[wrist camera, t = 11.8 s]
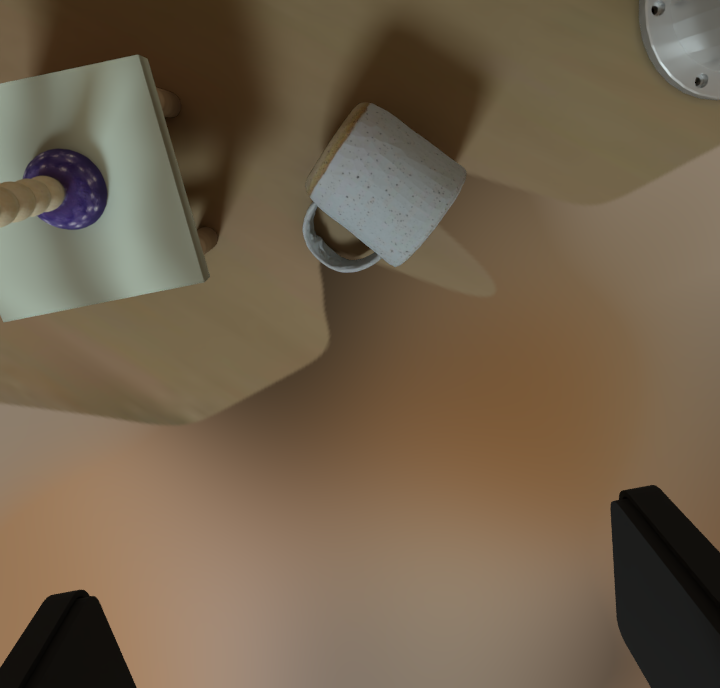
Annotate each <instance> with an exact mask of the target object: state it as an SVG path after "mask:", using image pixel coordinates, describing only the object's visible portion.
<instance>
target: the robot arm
mask: <svg viewBox="0 0 720 688" xmlns="http://www.w3.org/2000/svg"><path fill="white" fill-rule="evenodd" d="M652 8H653V9H654V14H652V11H651V9H652ZM639 23H640V29H641V35H642V40H643V43H644V46H645V48H646V51H647V54H648V57H649V58H650V60H651V61H652V63H653V65H654V66H655V68H656V69H657V71H658V72H659V73H660V74H661V75H662V76H663V77H664V78H665V80H666V81H667V82H668V83H669V84H671V85H672V86H674V87H675V88H677V89H679V90H680V91H682V92H683V93H686V94H689V95H691V96H694V97H697V98H701V99H710V100H720V0H639ZM695 79H696V80H697V83H696V85H695ZM611 525H612V542H613V560H614V577H615V595H616V613H617V621H618V626H619V629H620V632H621V635H622V637H623V639H624V641H625V643H626V645H627V647H628V648H629V650H630V652H631V654H632V655H633V657H634V659H635V661H636V662H637V664H638V666H639V667H640V669H641V671H642V673H643V675H644V676H645V678H646V680H647V681H648V683H649V685H650V687H651V688H720V552H719V551H718V550H717V549H716V548H715V547H714V546H713V545H712V544H711V543H710V542H709V541H708V539H707V538H706V537H705V536H704V535H703V534H702V533H701V532H700V531H699V530H698V529H697V528H696V527H695V526H694V525H693V524H692V522H691V521H690V520H689V519H688V518H687V517H686V516H685V515H684V514H683V513H682V512H681V511H680V510H679V509H678V507H677V506H676V505H675V504H674V503H673V502H672V501H671V500H670V499H669V498H668V497H667V496H666V495H665V494H664V493H663V492H662V490H661V489H660V488H658V487H657V486H655V485H650V486H645V487H639V488H634V489H628V490H623V491H621V492H620V495H619V500H616V501H613V502H611ZM0 688H136V685H135V683H134V681H133V678H132V676H131V674H130V671H129V669H128V667H127V665H126V662H125V660H124V658H123V656H122V653H121V651H120V648H119V646H118V644H117V642H116V639H115V637H114V635H113V633H112V630H111V628H110V626H109V623H108V621H107V619H106V616H105V614H104V612H103V610H102V607H101V605H100V603H99V601H98V599H97V598H96V597H95V596H89V594H88V593H87V592H86V591H85V590H77V591H71V592H66V593H60V594H54V595H51V596H49V597H47V598H46V600H45V601H44V602H43V603H42V605H41V606H40V608H39V609H38V611H37V612H36V614H35V615H34V617H33V618H32V620H31V622H30V623H29V625H28V626H27V628H26V629H25V631H24V632H23V634H22V635H21V637H20V638H19V640H18V641H17V643H16V644H15V646H14V648H13V649H12V651H11V652H10V654H9V655H8V657H7V658H6V660H5V661H4V663H3V664H2V666H1V667H0Z"/></svg>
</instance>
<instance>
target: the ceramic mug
mask: <svg viewBox="0 0 720 688" xmlns="http://www.w3.org/2000/svg"><path fill="white" fill-rule="evenodd" d="M465 179H466V170H465V169H464V168H463V167H462V166H461V165H459V164H458V163H457V162H455V161H454V160H452V159H451V158H450V157H448V156H447V155H446V154H444V153H443V152H442V151H441V150H439V149H438V148H437V147H435V146H434V145H432V144H431V143H430V142H429V141H427V140H426V139H424V138H423V137H422V136H420V135H419V134H417V133H416V132H414V131H413V130H412V129H410V128H409V127H408V126H407V125H405V124H404V123H403V122H402V121H400V120H399V119H398V118H396V117H395V116H394V115H392V114H391V113H389V112H388V111H386V110H384V109H382V108H380V107H378V106H377V105H375V104H373V103H369V102H363V103H359V104H358V105H357V106H356V107H355V108H354V109H353V110H352V111H351V113H350V114H349V115H348V117H347V118H346V119H345V121H344V122H343V123H342V125H341V126H340V128H339V129H338V131H337V132H336V133H335V135H334V136H333V138H332V139H331V141H330V142H329V143H328V145H327V147H326V148H325V150H324V151H323V153H322V155H321V156H320V158H319V160H318V161H317V163H316V164H315V166H314V168H313V169H312V171H311V173H310V174H309V176H308V178H307V180H306V183H305V187H306V192H307V194H308V195H309V197H310V198H311V199H312V200H313V203H312V204H311V205H310V207H309V209H308V210H307V213H306V216H305V218H304V223H303V234H304V239H305V242H306V244H307V247H308V248H309V250H310V251H311V252H312V253H313V255H314V256H315V257H316V258H317V259H318V260H319V261H320V262H322V263H323V264H324V265H326V266H327V267H329V268H331V269H333V270H335V271H339V272H356V271H361V270H363V269H365V268H368V267H370V266H372V265H373V264H375V263H376V262H378V261H379V260H380V259H381V258H383V259H384V260H385V261H386V262H388V263H389V264H391V265H393V266H394V267H396V266H399V265H401V264H402V263H404V262H405V261H406V260H407V259H408V258H409V257H410V256H411V255H412V254H413V253H414V252H415V251H416V250H417V249H418V248H419V247H420V246H421V245H422V243H423V242H424V241H425V240H426V239H427V238H428V236H429V235H430V234H431V232H432V231H433V230H434V229H435V227H436V226H437V225H438V223H439V222H440V221H441V219H442V218H443V216H444V215H445V213H446V212H447V211H448V209H449V208H450V206H451V205H452V204H453V202H454V200H455V199H456V198H457V196H458V194H459V192H460V190H461V188H462V185H463V184H464V182H465ZM317 207H319V208H320V209H321V210H323V211H324V212H325V213H326V214H328V215H329V216H330V217H331V218H333V219H334V220H335V221H337V222H338V223H340V224H341V225H342V226H344V227H345V228H346V229H348V230H349V231H350V232H351V233H352V234H354V235H355V236H356V237H357V238H358V239H359V240H361V241H362V242H363V243H364V244H365V245H367V246H368V247H369V248H371V249H372V250H373V251H374V253H373V254H371V255H369V256H367V257H365V258H363V259H359V260H348V259H345V258H343V257H340V256H339V255H338V254H337V253H335V252H334V251H333V250H332V249H331V248H330V247H329V246H327V245H326V244H325V243H324V241H323V239H322V238H321V237H319V236H317V235H316V233H315V230H314V222H313V219H314V215H315V211H316V209H317Z"/></svg>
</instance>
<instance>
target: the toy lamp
mask: <svg viewBox="0 0 720 688" xmlns="http://www.w3.org/2000/svg"><path fill="white" fill-rule="evenodd" d="M106 203H107V188H106V183H105V181H104V178H103V176H102V174H101V172H100V170H99V169H98V168H97V166H96V165H95V164H94V163H93V162H92V161H91V160H90V159H89V158H87V157H86V156H84V155H82V154H80V153H78V152H75V151H72V150H69V149H59V148H58V149H51V150H47V151H45V152H42V153H40V154H39V155H37V156H36V157H35V158H34V159H33V160H32V161H31V162H30V163H29V164H28V166H27V167H26V169H25V172H24V175H23V179H21V180H17V181H15V182H3V183H0V228H1V227H4V226H7V225H8V224H10V223H15V222H20V221H23V220H25V219H27V218H28V217H34V216H38V217H39V218H40V219H41V220H43V221H45V222H46V223H48V224H50V225H52V226H54V227H57V228H61V229H67V230H77V229H82V228H86V227H88V226H90V225H92V224H94V223H95V222H96V221H97V220H98V219H99V218H100V217H101V215H102V214H103V212H104V210H105V207H106Z"/></svg>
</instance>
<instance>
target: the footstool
mask: <svg viewBox="0 0 720 688" xmlns="http://www.w3.org/2000/svg"><path fill="white" fill-rule="evenodd" d="M180 110H181V102H180V100H179V98H178V97H177V96H176V95H175V94H174V93H172V92H169V91H166V90H163V89H160V88H157V87H156V86H155V83H154V79H153V76H152V72H151V69H150V65H149V62H148V59H147V58H145V57H143V56H140V55H133V56H129V57H124V58H119V59H115V60H110V61H105V62H100V63H96V64H91V65H86V66H82V67H77V68H72V69H68V70H63V71H58V72H53V73H49V74H44V75H39V76H35V77H30V78H25V79H21V80H16V81H11V82H7V83H2V84H0V183H3V182H15V181H17V180H21V179H23V175H24V172H25V169H26V167H27V166H28V164H29V163H30V162H31V161H32V160H33V159H34V158H35V157H36V156H37V155H39V154H40V153H42V152H45V151H47V150H51V149H58V148H59V149H69V150H72V151H75V152H78V153H80V154H82V155H84V156H86V157H87V158H89V159H90V160H91V161H92V162H93V163H94V164H95V165H96V166H97V168H98V169H99V170H100V172H101V174H102V176H103V178H104V181H105V183H106V188H107V203H106V207H105V210H104V212H103V214H102V215H101V217H100V218H99V219H98V220H97V221H96V222H95V223H94V224H92V225H90V226H88V227H86V228H82V229H77V230H67V229H61V228H57V227H54V226H52V225H50V224H48V223H46V222H45V221H43V220H41V219H40V218H39V217H38V216H34V217H28V218H27V219H25V220H23V221H20V222H15V223H10V224H8V225H7V226H4V227H1V228H0V315H1V317H2V320H3V322H7V321H12V320H17V319H22V318H28V317H33V316H38V315H43V314H48V313H53V312H58V311H63V310H68V309H73V308H78V307H83V306H88V305H93V304H98V303H103V302H108V301H113V300H118V299H123V298H128V297H133V296H138V295H143V294H148V293H153V292H158V291H163V290H168V289H173V288H178V287H183V286H188V285H193V284H198V283H203V282H205V281H206V280H207V279H208V278H209V277H210V275H209V272H208V268H207V265H206V261H205V258H204V254H206V253H207V252H208V251H210V250H211V249H212V248H213V247H215V245H216V244H217V241H218V237H217V234H216V232H215V231H214V230H213V229H211V228H209V227H202V228H200V229H198V230H196V226H195V223H194V219H193V216H192V212H191V209H190V205H189V202H188V198H187V195H186V191H185V188H184V184H183V181H182V177H181V174H180V170H179V167H178V163H177V160H176V156H175V153H174V149H173V146H172V142H171V139H170V135H169V132H168V128H167V125H166V121H165V118H164V117H168V118H172V117H175V116H177V115H178V114H179V112H180Z"/></svg>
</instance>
